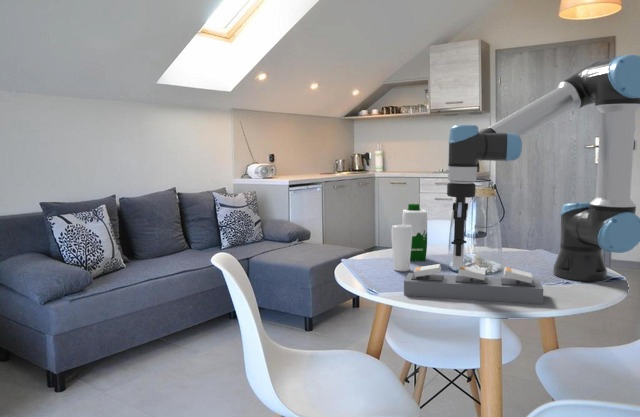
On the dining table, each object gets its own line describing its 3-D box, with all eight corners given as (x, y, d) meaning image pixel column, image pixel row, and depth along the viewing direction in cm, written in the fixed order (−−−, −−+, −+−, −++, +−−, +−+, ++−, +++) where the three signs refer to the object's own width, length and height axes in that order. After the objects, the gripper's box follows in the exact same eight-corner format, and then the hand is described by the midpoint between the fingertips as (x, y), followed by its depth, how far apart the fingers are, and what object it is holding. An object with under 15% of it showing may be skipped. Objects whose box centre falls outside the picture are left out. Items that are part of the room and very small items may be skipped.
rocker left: (441, 269, 153) (440, 263, 153) (439, 273, 148) (438, 267, 148) (417, 272, 155) (415, 267, 155) (415, 277, 150) (413, 271, 150)
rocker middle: (484, 275, 150) (485, 269, 149) (484, 280, 145) (485, 274, 145) (458, 270, 152) (459, 264, 151) (457, 274, 147) (459, 268, 147)
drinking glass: (387, 270, 180) (387, 225, 178) (400, 266, 184) (400, 223, 182) (402, 273, 175) (402, 228, 173) (416, 270, 179) (416, 225, 177)
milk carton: (424, 256, 200) (424, 203, 198) (428, 261, 191) (429, 206, 189) (401, 256, 200) (401, 203, 198) (403, 262, 192) (404, 206, 189)
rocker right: (529, 278, 146) (531, 272, 146) (531, 283, 142) (533, 277, 141) (503, 272, 148) (505, 266, 148) (504, 276, 143) (505, 270, 143)
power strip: (539, 293, 148) (539, 276, 148) (542, 304, 139) (543, 285, 138) (408, 286, 159) (408, 269, 158) (403, 295, 149) (403, 277, 149)
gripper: (448, 180, 153) (445, 261, 156) (445, 183, 141) (442, 270, 144) (476, 181, 151) (472, 263, 154) (475, 184, 139) (471, 273, 142)
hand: (457, 266), depth 149 cm, fingers closed
